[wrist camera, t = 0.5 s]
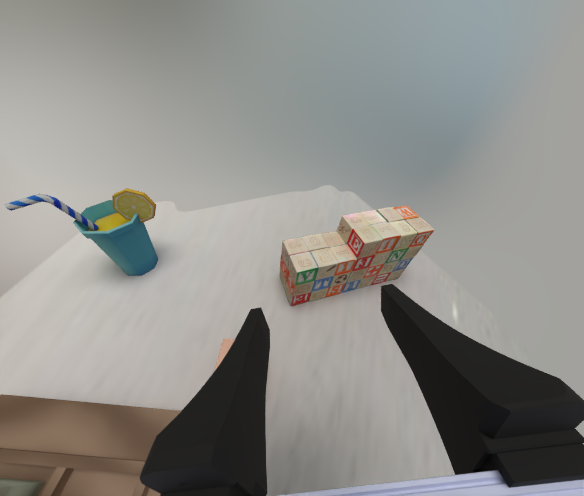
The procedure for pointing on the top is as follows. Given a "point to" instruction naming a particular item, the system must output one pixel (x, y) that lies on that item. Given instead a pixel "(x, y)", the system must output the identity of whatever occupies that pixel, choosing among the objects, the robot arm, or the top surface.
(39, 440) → the walnut base
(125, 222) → the cup
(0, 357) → the top surface
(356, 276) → the stack of blocks
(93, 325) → the top surface
